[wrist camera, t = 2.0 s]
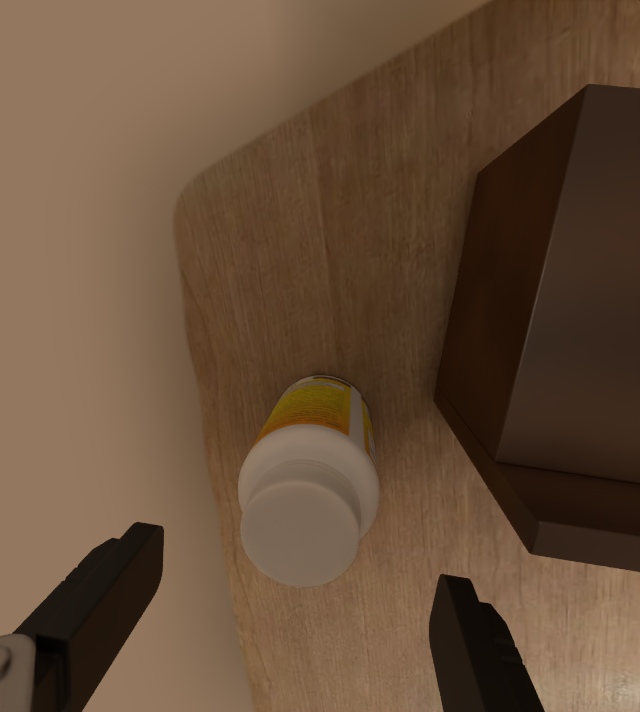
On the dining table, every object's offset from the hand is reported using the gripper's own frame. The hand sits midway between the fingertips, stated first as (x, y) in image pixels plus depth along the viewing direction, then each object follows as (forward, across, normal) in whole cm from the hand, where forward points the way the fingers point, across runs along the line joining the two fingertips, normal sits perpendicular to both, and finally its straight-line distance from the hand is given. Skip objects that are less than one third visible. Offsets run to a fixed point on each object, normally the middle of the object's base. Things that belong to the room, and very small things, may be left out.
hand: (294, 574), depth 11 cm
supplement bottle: (+12, 0, 0) cm, 12 cm away
